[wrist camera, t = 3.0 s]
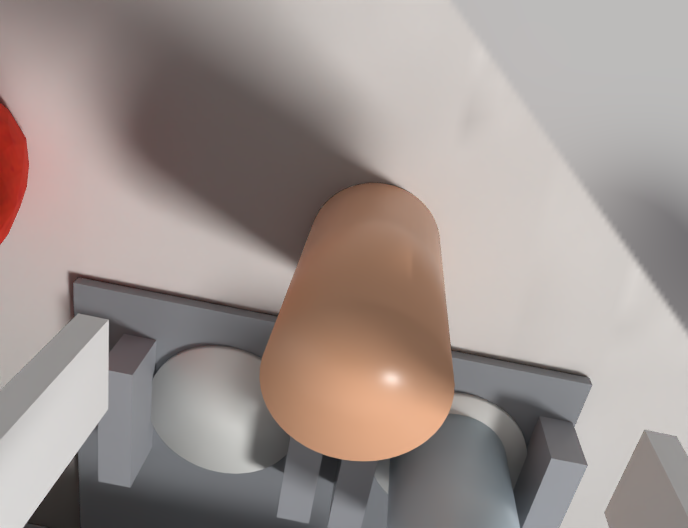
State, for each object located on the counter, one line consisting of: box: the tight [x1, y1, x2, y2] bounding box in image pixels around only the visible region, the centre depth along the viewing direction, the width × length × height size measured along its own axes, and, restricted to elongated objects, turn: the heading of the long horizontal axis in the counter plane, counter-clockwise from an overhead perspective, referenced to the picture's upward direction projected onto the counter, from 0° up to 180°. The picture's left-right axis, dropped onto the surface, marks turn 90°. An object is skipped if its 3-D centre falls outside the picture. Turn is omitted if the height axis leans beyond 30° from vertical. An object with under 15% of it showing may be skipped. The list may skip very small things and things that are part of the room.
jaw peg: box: [259, 183, 455, 461], centre depth 20 cm, size 5×5×9 cm
